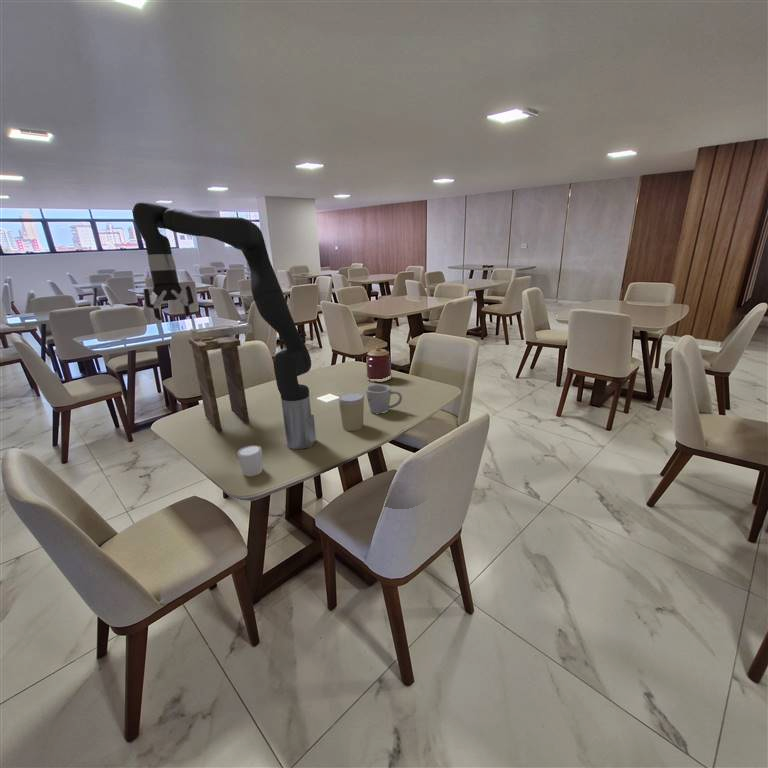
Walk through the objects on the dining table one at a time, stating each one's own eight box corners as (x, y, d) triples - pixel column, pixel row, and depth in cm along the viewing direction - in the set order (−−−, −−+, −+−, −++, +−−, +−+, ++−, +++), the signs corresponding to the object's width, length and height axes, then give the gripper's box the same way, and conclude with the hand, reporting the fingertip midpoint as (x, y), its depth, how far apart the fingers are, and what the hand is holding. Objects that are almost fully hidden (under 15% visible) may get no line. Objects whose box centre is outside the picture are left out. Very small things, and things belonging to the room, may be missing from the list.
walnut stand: (238, 408, 165) (225, 331, 154) (252, 422, 149) (239, 337, 139) (203, 416, 157) (187, 335, 146) (215, 432, 141) (198, 343, 131)
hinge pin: (249, 331, 157) (248, 321, 156) (253, 332, 154) (251, 322, 153) (192, 339, 145) (190, 328, 144) (194, 340, 142) (192, 329, 141)
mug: (370, 405, 162) (369, 383, 159) (404, 407, 159) (404, 384, 156) (364, 415, 152) (362, 391, 149) (400, 417, 149) (400, 393, 146)
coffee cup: (351, 419, 148) (349, 391, 144) (370, 424, 143) (368, 395, 139) (335, 428, 141) (332, 398, 137) (354, 434, 136) (352, 403, 132)
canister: (396, 378, 198) (395, 345, 193) (379, 384, 190) (378, 350, 184) (379, 374, 207) (377, 342, 202) (361, 379, 198) (359, 347, 193)
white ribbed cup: (248, 480, 109) (244, 458, 107) (236, 472, 113) (232, 451, 111) (269, 470, 114) (266, 449, 112) (257, 463, 118) (254, 443, 116)
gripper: (184, 268, 132) (193, 315, 137) (136, 270, 124) (148, 320, 129) (188, 268, 126) (198, 316, 131) (139, 270, 118) (151, 321, 123)
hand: (173, 318), depth 130 cm, fingers open, 8 cm apart
